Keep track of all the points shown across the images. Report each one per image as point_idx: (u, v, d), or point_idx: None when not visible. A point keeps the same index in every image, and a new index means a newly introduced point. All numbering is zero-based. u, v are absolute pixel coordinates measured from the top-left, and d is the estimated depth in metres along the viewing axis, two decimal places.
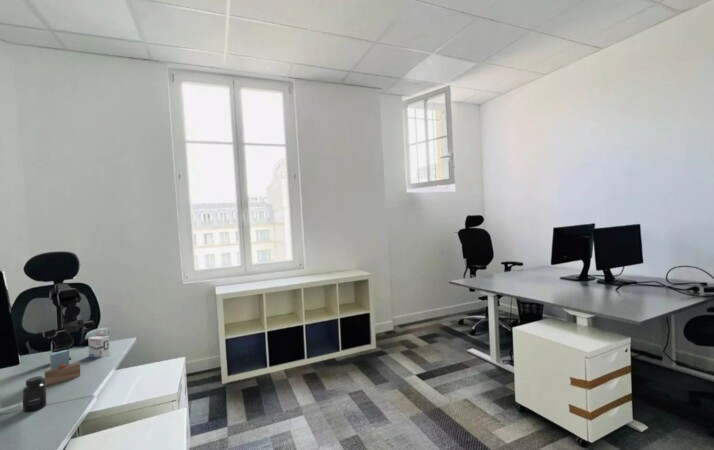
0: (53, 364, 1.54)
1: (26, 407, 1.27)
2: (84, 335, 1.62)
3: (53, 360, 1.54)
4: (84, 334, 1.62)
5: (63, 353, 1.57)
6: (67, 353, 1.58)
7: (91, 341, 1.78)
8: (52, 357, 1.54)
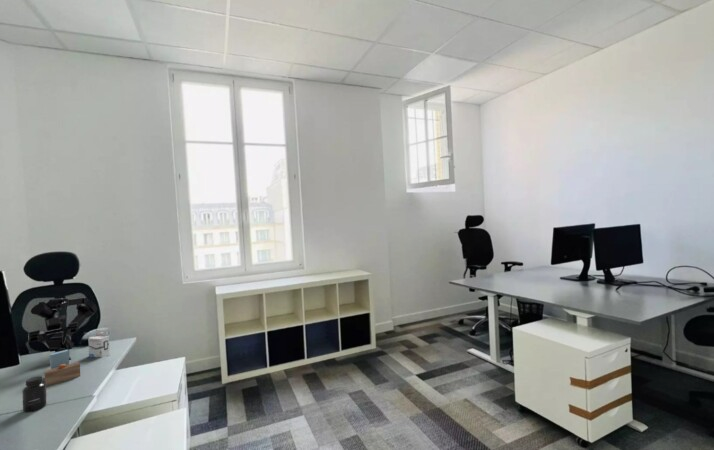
0: (53, 364, 1.54)
1: (26, 407, 1.27)
2: (64, 336, 1.67)
3: (53, 360, 1.54)
4: (64, 335, 1.67)
5: (63, 353, 1.57)
6: (67, 353, 1.58)
7: (91, 341, 1.78)
8: (52, 357, 1.54)
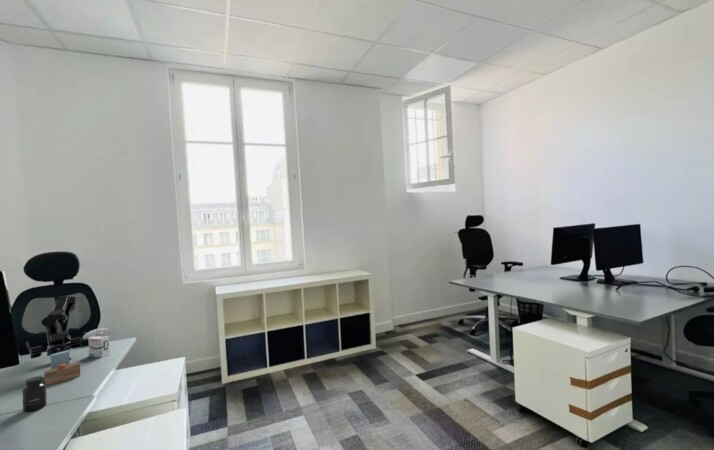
0: (53, 365, 1.53)
1: (26, 407, 1.27)
2: None
3: (53, 361, 1.53)
4: None
5: (64, 354, 1.56)
6: (68, 354, 1.57)
7: (91, 341, 1.78)
8: (52, 358, 1.53)
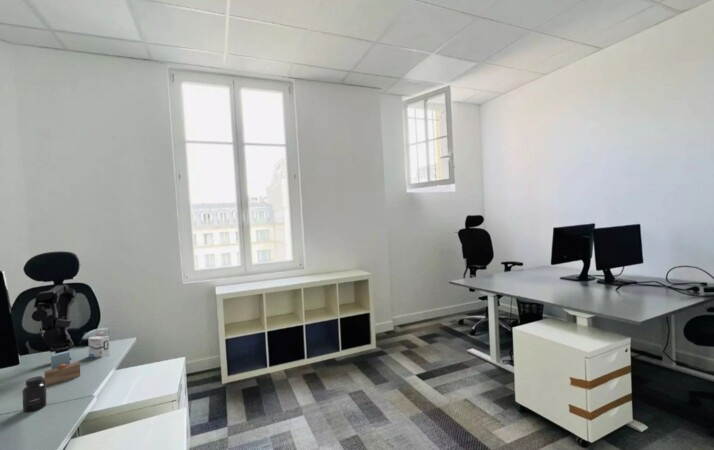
0: (54, 365, 1.53)
1: (26, 407, 1.27)
2: None
3: (54, 362, 1.53)
4: None
5: (64, 354, 1.55)
6: (68, 354, 1.57)
7: (91, 341, 1.78)
8: (53, 358, 1.52)
